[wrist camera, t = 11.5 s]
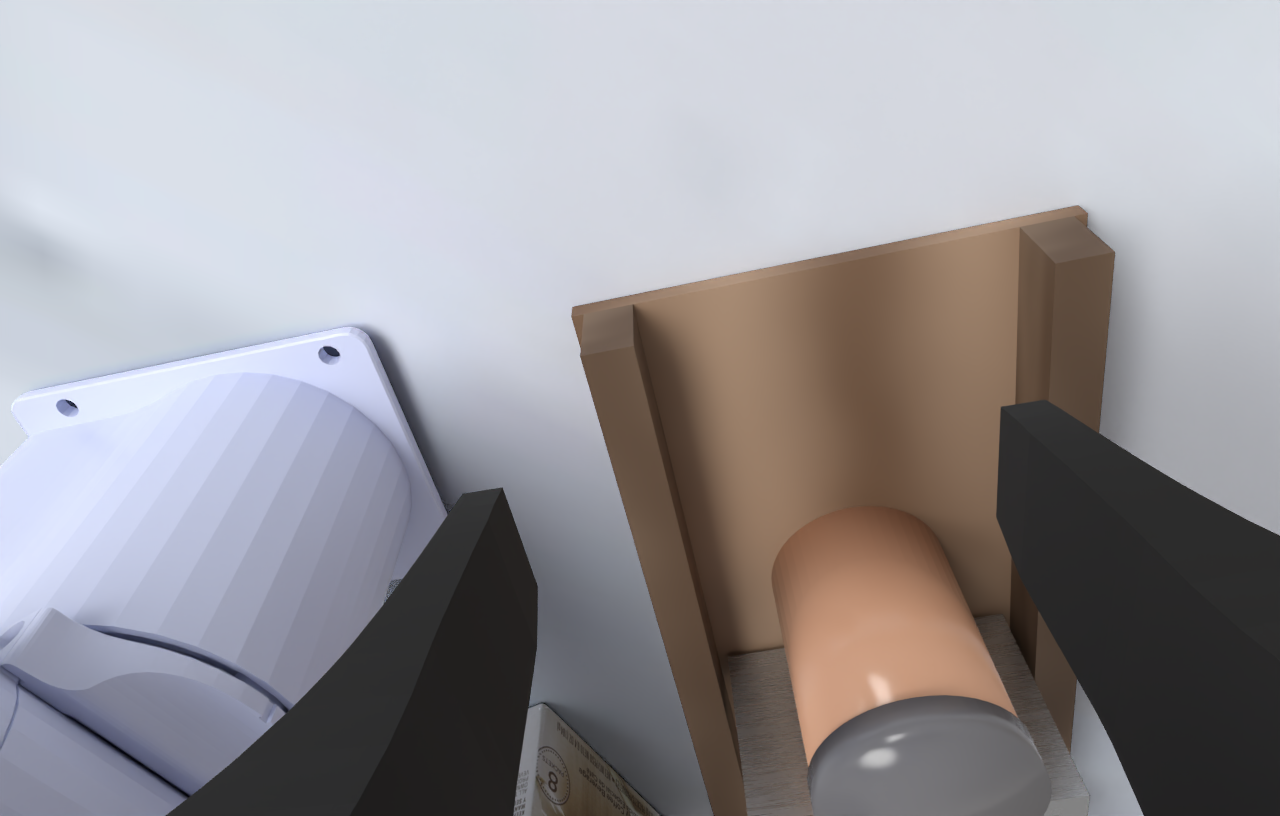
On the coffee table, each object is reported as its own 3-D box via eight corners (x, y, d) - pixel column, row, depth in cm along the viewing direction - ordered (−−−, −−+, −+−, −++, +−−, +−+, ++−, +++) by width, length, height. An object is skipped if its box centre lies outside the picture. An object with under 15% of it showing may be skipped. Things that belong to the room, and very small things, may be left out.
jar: (780, 646, 28) (827, 886, 21) (755, 521, 25) (801, 755, 19) (948, 618, 27) (1048, 856, 21) (943, 488, 24) (1056, 718, 18)
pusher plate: (733, 681, 28) (757, 866, 23) (727, 656, 28) (750, 841, 23) (1001, 640, 27) (1086, 823, 22) (1002, 613, 27) (1090, 795, 22)
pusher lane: (719, 821, 34) (735, 978, 29) (572, 307, 22) (558, 437, 17) (1042, 777, 33) (1110, 934, 28) (1078, 205, 20) (1210, 316, 16)
